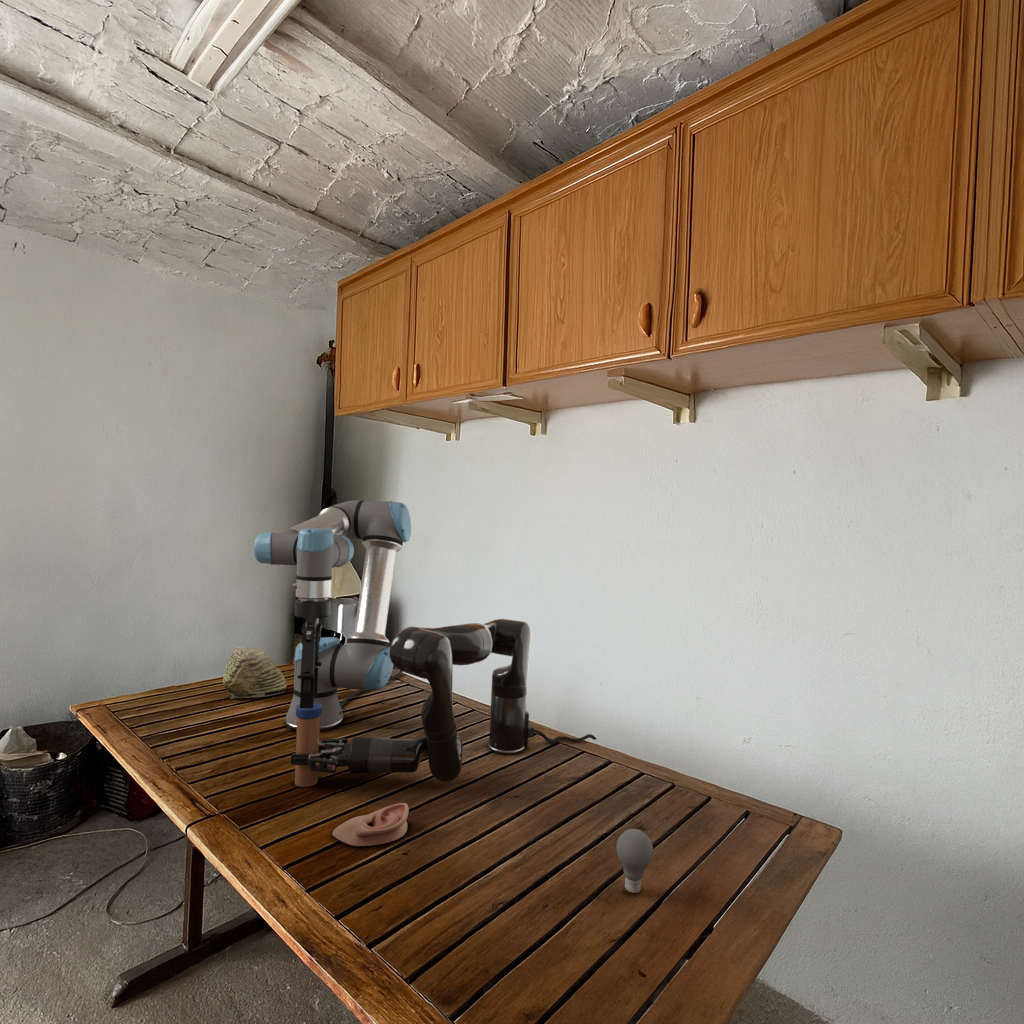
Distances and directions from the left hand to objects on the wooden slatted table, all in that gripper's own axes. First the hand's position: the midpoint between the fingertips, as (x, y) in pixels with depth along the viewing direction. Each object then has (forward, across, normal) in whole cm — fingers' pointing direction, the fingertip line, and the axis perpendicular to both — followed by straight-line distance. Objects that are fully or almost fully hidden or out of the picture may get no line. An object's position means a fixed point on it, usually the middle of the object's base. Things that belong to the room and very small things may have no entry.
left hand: (308, 701), depth 140 cm
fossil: (+17, -64, -22) cm, 70 cm away
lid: (+1, 0, 0) cm, 1 cm away
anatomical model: (+18, +23, +14) cm, 32 cm away
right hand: (+12, -1, -2) cm, 12 cm away
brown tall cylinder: (+18, 0, 0) cm, 18 cm away
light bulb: (+18, +47, +58) cm, 76 cm away
